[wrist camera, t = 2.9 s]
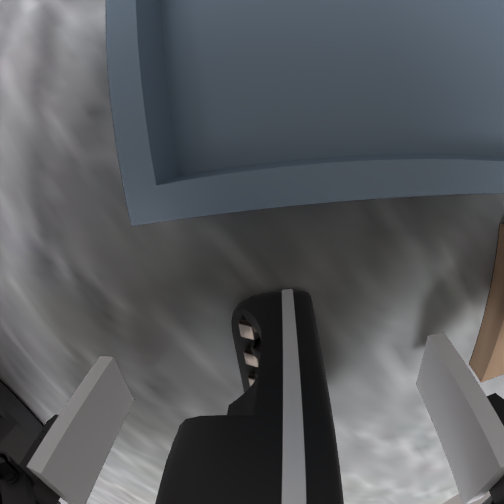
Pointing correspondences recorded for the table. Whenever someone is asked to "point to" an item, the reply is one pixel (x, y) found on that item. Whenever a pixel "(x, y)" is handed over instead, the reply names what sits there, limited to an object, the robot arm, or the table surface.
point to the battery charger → (264, 418)
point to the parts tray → (303, 102)
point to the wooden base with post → (492, 324)
